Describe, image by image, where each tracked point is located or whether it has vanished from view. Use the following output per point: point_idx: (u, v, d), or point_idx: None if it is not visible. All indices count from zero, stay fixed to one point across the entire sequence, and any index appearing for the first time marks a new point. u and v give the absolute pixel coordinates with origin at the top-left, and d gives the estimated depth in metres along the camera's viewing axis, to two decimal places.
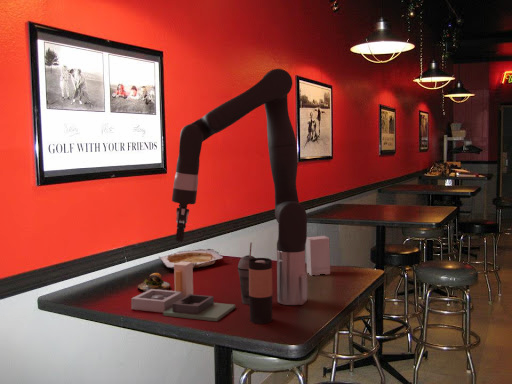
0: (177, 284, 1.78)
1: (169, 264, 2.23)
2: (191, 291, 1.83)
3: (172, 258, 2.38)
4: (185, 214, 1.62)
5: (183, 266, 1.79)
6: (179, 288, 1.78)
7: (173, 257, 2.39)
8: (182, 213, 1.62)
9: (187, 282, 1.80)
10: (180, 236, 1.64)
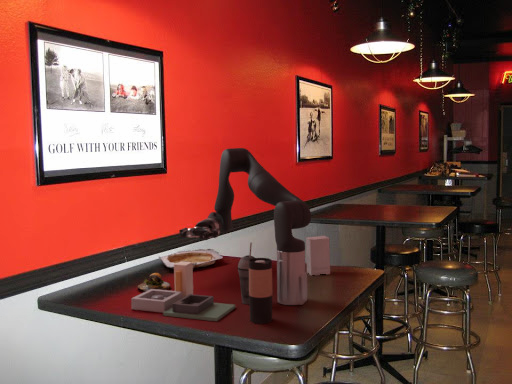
0: (177, 284, 1.78)
1: (169, 264, 2.23)
2: (191, 291, 1.83)
3: (172, 258, 2.38)
4: None
5: (183, 266, 1.79)
6: (179, 288, 1.78)
7: (173, 257, 2.39)
8: None
9: (187, 282, 1.80)
10: None
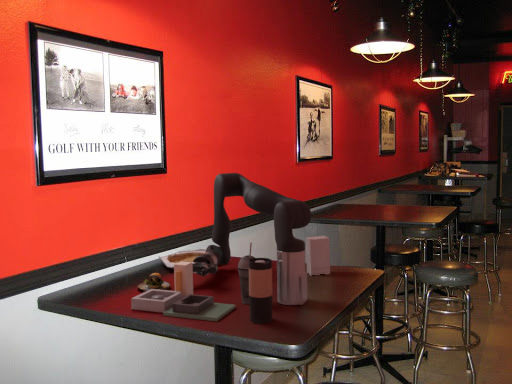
0: (177, 284, 1.78)
1: (169, 264, 2.23)
2: (191, 291, 1.83)
3: (172, 258, 2.38)
4: None
5: (183, 266, 1.79)
6: (179, 288, 1.78)
7: (173, 257, 2.39)
8: None
9: (187, 282, 1.80)
10: None
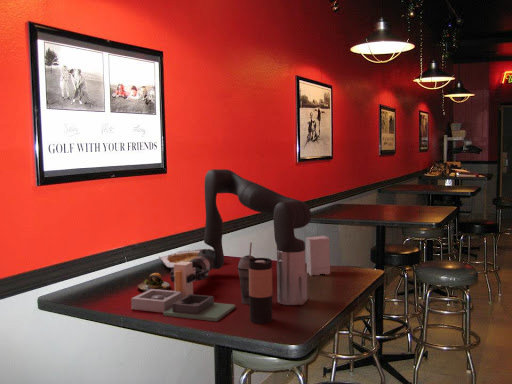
0: (177, 284, 1.78)
1: (169, 264, 2.23)
2: (191, 291, 1.83)
3: (172, 258, 2.38)
4: (171, 270, 1.89)
5: (183, 266, 1.79)
6: (179, 288, 1.78)
7: (173, 257, 2.39)
8: None
9: None
10: None
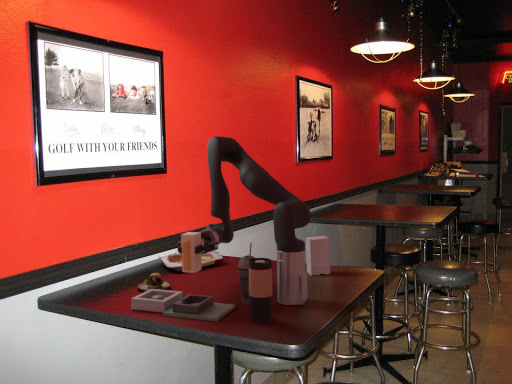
0: (185, 255, 1.67)
1: (169, 264, 2.23)
2: (199, 263, 1.71)
3: (172, 258, 2.38)
4: (178, 242, 1.77)
5: (191, 236, 1.67)
6: (187, 259, 1.67)
7: (173, 257, 2.39)
8: None
9: (195, 253, 1.68)
10: None
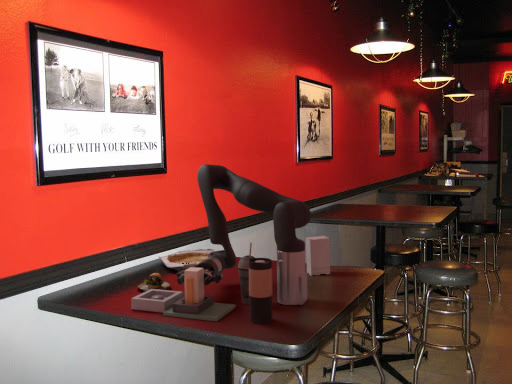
0: (188, 292, 1.64)
1: (169, 264, 2.23)
2: (202, 299, 1.69)
3: (172, 258, 2.38)
4: None
5: (194, 272, 1.65)
6: (190, 296, 1.64)
7: (173, 257, 2.39)
8: None
9: (199, 290, 1.66)
10: None
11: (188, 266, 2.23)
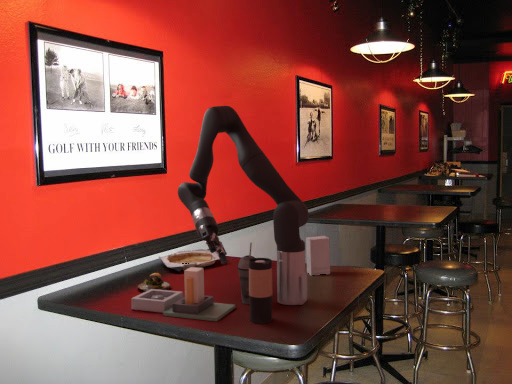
0: (188, 292, 1.64)
1: (169, 264, 2.23)
2: (202, 299, 1.69)
3: (172, 258, 2.38)
4: (204, 227, 1.80)
5: (194, 272, 1.65)
6: (190, 296, 1.64)
7: (173, 257, 2.39)
8: (202, 228, 1.80)
9: (199, 290, 1.66)
10: (211, 246, 1.76)
11: (188, 266, 2.23)
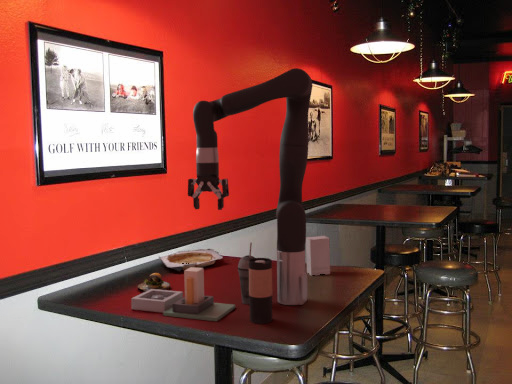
0: (188, 292, 1.64)
1: (169, 264, 2.23)
2: (202, 299, 1.69)
3: (172, 258, 2.38)
4: (227, 183, 1.78)
5: (194, 272, 1.65)
6: (190, 296, 1.64)
7: (173, 257, 2.39)
8: (226, 183, 1.77)
9: (199, 290, 1.66)
10: (222, 205, 1.79)
11: (188, 266, 2.23)
